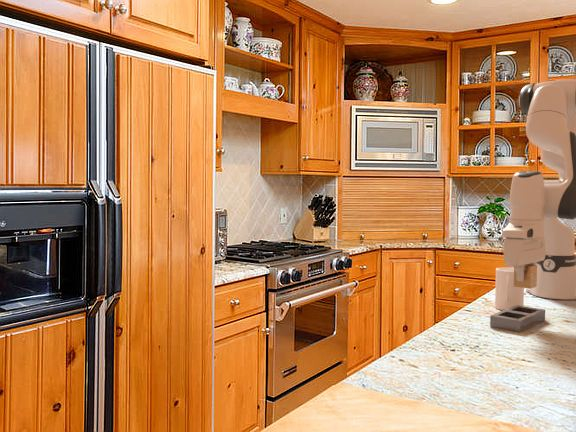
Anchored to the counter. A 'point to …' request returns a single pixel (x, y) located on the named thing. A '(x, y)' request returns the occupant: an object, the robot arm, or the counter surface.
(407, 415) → the counter surface
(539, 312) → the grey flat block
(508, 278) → the mug
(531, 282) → the wooden toy block
